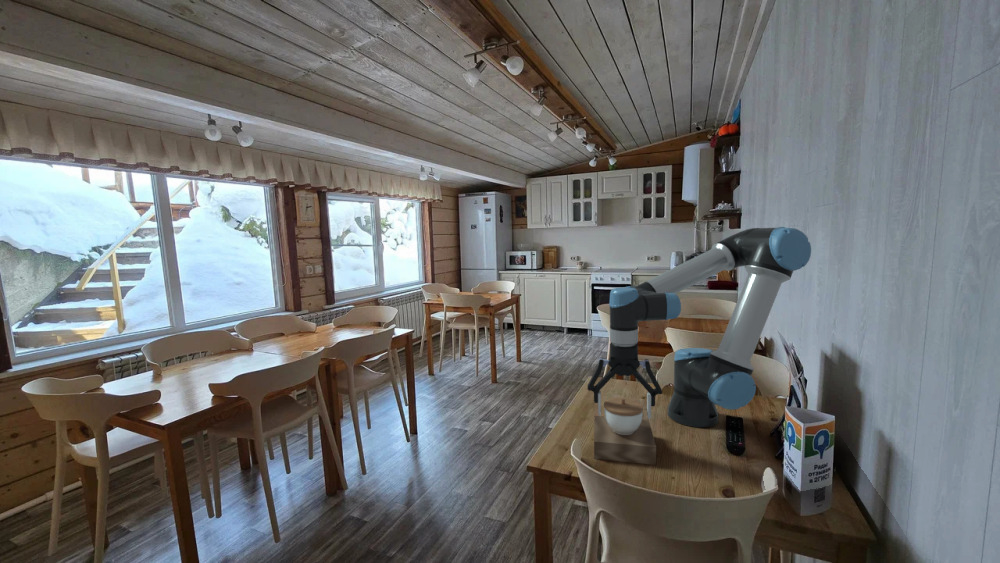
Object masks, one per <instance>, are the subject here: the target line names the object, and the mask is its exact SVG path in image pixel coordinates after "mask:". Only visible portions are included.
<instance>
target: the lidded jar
mask: <svg viewBox="0 0 1000 563" xmlns="http://www.w3.org/2000/svg"><path fill="white" fill-rule="evenodd" d="M603 407H604V408H603V409H604V410H603V411H604V412H603V413H604V417H605V418H606V422H607V424H608V425H609V426H610V428H611V429H612V430H613V431H614V432H615V433H617V434H620V435H631V434H633V433H634V431H636V430H637V429H638V428H639V426H640V424H641V421H642V419H643V412H644V405H643V404H642V403H641V402H640V401H638V400H637V399H633V398H630V397H624V396H615V397H610V398H607V399H606V400H604V403H603Z"/></svg>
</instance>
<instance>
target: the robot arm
mask: <svg viewBox="0 0 1000 563" xmlns="http://www.w3.org/2000/svg"><path fill="white" fill-rule="evenodd" d="M811 246H812V245H811V242H810V241H809V237H808V236H807V235H806V234H805V233H804V232H803V231H802V230H801V229H798V228H793V227H785V226H778V227H760V228H759V227H752V228H747V229H745V230H741V231H739V232H737V233H734V234H732V235H730V236H728V237H726V238H723V239H722V240H720V241H717V242H715V243H714V244H713V245H712V246H711V249H708V250H707V251H704V252H703V253H701V254H698V255H697V256H694V257H692V258H691V259H688V260H686V261H684V262H682V263H681V264H679V265H676V266H675V267H673V268H671V269H668V270H667V271H664V272H663V273H661V274H660V273H659V275H657V276H655V277H652V278H650V279H649V280H646V281H644V282H642V283H640V284H637V285H631V286H630V285H629V286H625V287H624V286H623V287H615V288H613V289H611V290H610V292H609V303H608V305H609V306H608V307H609V342H610V344H609V358H608V359H606V358H605V359H604V357H599V359H598V365H597V366H596V368H595V370H594V372H593V374H592V376H591V378H590V380H589V382H588V383H587V391H590V392H592V393H593V403H594V404H597V408H598V409H597V416H602V399H601V398H602V397H601V396H602V392H601V391H602V389H603V388H604V386H605V385H606V384H607V383H608V382H610V380H612V378H614V376H616V375H617V376H619V377H623V376H626V377H631V376H633V377H634V378H635V379H637V381H638V382H639V384H641V386H642V387H644V389H645V390H646V415H647V420H651V419H652V407H655V406H656V395H662V394H663V390H662V387H661V385H660V383H659V382H658V380H657V378H656V376H655V374H654V373H653V370H652V369H651V362H650V360H649V359H648V358H645V359H644V360H639V345H638V342H639V332H638V331H639V322H647V321H651V322H652V321H653V322H654V321H668V320H673V319H677V318H678V317H679V316H680V314H681V311H682V303H681V299H680V297H679V296H678V295H677V294H678V293H680V292H682V291H684V290H686V289H688V288H690V287H692V286H695V285H696V284H699V283H701V282H702V281H705V280H707V279H708V278H711V277H713V276H715V275H717V274H718V273H720V272H723V271H729V272H730V271H732V270H734V269H736V268H740V267H744V269H745V271H746V272H747V276H746V279H745V281H744V283H743V286H742V289H741V291H740V294H739V296H738V298H737V300H736V301H737V302H736V304H735V306H734V309H733V312H732V314H731V317H730V319H729V321H728V323H727V326H726V329H725V332H724V333H723V335H722V336H723V337H722V339H721V341H720V344H719V346H718V349H716V350H714V351H713V350H712V349H709V348H702V347H683V348H679V349H677V350H676V351H675V353H674V359H673V361H674V363H673V364H674V366H673V367H674V368H673V370H674V372H673V393H672V396H671V398H670V400H669V404H668V405H667V416H668V417H669V418H670V419H671V420H672V421H673V422H676V423H678V424H681V425H684V426H688V427H693V428H709V427H710V428H711V427H714V426H716V425H717V424H718V422H719V413H718V412H719V411H718V409H717V407H716V406H719V407H721V408H723V409H725V410H738V409H740V408H744V407H746V406H747V405H748V404H750V402H752V400H753V398H754V397H755V394H756V390H757V385H756V384H755V383H756V382H755V380H754V379H753V376H752V374H753V372H754V370H755V368H754V367H753V365H752V363H751V360H752V358H753V355H754V353H755V350H756V347H757V346H758V343H759V340H760V338H761V335H762V332H763V330H764V328H765V325H766V323H767V321H768V319H769V318H768V317H769V316H770V313H771V310H772V307H773V306H774V303H775V300H776V298H777V296H778V293H779V291H780V288H781V286H782V284H783V283H785V282H788V281H790V280H791V277H792V275H793V273H794V272H795V271H797V270H801V269H802V268H804V267H805V266H807V265H808V264H809V263H808V262H809V261H810V258H811V254H812V247H811ZM607 365H609V367H610V369H609V370H608V371H607V373H606V374H605V375H604V376H603V377H602V378H601V379H599V381H598V382H597V380H598V378H599V376H600V375H601V373H602V371H603V368H605V367H606V366H607ZM640 366H641V367H642V368H643V369H644V370H646V374H647V375H648V376H649V379H650V381H651V382H652V384H653V387H654V388H653V387H652V385H650V383H648V381H647V380H646V379H645V378H644V377H643V376H642V374H640V372H639V371H638V368H639V367H640ZM596 382H597V383H596Z"/></svg>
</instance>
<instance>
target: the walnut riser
mask: <svg viewBox="0 0 1000 563" xmlns="http://www.w3.org/2000/svg"><path fill="white" fill-rule="evenodd" d="M593 420H594V425H593V426H594V430H593V431H594V433H593V434H594V435H593V459H595V460H605V461H616V462H625V463H633V464H634V463H635V464H643V465H645V464H646V465H655V466H656V465H657V445H656V442H655V437H654V434H653V431H652V427H651V422H650V419H643V418H642V421H641V424H640V426H639V428H638V429H637V430H636V431H634V433H633V434H631V435H620V434H617V433H615V432H614V431H613V430H612V429H611V428H610V426H609V425H608V424H607V422H606V418H605V415H604V416H602V415H594V419H593Z"/></svg>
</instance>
